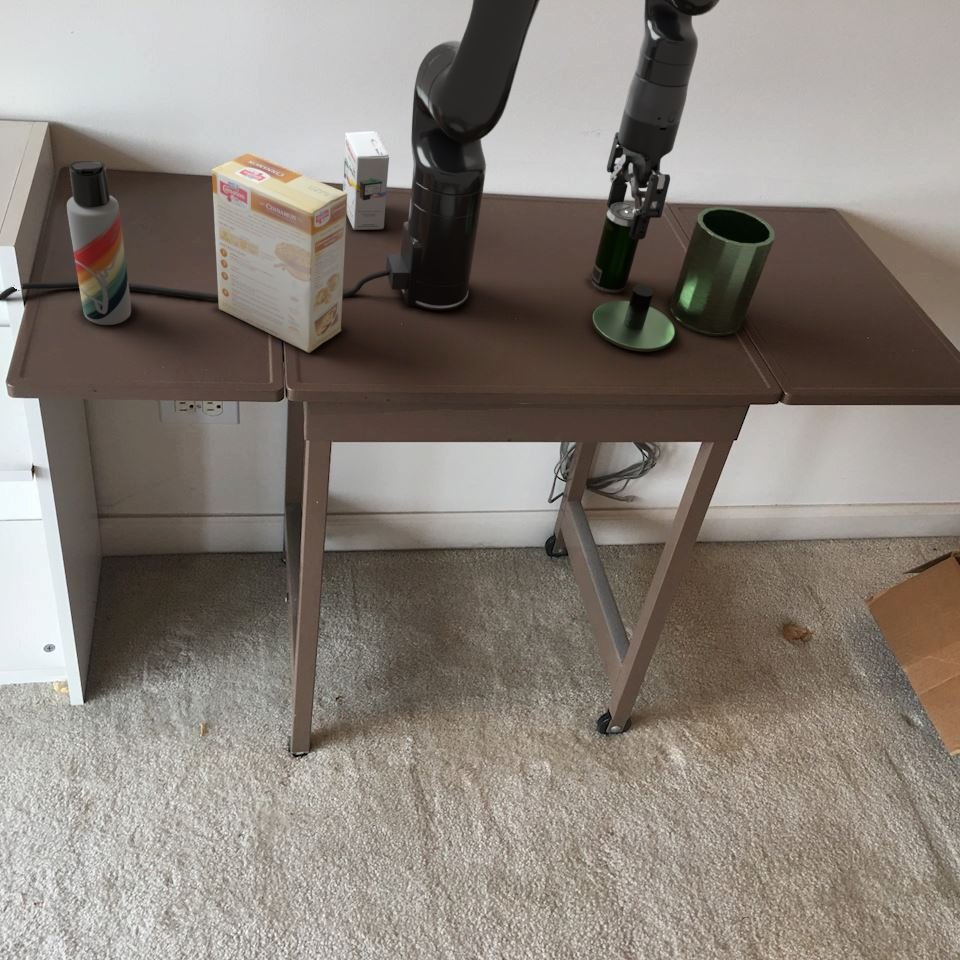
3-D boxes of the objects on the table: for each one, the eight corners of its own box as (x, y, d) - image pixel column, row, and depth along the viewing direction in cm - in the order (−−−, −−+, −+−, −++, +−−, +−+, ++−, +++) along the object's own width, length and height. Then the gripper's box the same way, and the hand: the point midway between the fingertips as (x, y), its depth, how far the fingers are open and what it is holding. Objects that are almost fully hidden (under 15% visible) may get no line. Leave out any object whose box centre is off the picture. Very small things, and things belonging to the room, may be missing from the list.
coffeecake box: (342, 330, 127) (350, 192, 114) (308, 355, 122) (312, 213, 109) (253, 287, 132) (249, 149, 118) (216, 309, 127) (209, 168, 114)
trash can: (701, 342, 137) (733, 251, 127) (655, 302, 143) (682, 212, 134) (755, 328, 142) (790, 239, 132) (708, 290, 148) (738, 202, 138)
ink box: (340, 203, 152) (344, 129, 144) (371, 202, 154) (376, 130, 146) (352, 230, 146) (356, 156, 138) (384, 229, 148) (390, 155, 140)
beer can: (605, 297, 142) (624, 222, 134) (583, 278, 146) (600, 204, 137) (632, 290, 145) (653, 216, 137) (610, 271, 148) (629, 199, 140)
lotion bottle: (83, 327, 120) (58, 174, 107) (84, 301, 124) (60, 151, 111) (132, 325, 122) (113, 175, 108) (131, 300, 126) (113, 152, 112)
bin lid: (624, 362, 131) (636, 321, 126) (575, 316, 138) (584, 275, 133) (689, 345, 136) (702, 305, 132) (638, 301, 143) (649, 261, 138)
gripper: (607, 88, 131) (583, 199, 142) (648, 134, 122) (619, 249, 133) (657, 89, 134) (630, 198, 145) (701, 134, 124) (668, 248, 135)
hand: (625, 222), depth 139 cm, fingers open, 8 cm apart
